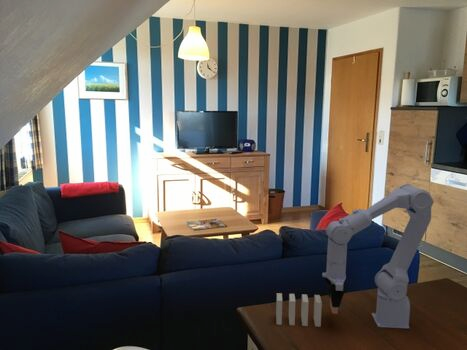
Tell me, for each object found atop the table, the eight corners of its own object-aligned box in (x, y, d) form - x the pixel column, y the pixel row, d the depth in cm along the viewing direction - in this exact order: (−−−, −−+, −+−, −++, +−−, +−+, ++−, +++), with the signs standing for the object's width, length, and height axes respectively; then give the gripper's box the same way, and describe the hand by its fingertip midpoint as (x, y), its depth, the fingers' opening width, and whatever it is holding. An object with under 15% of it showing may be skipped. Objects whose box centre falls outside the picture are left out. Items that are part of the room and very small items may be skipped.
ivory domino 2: (293, 317, 130) (294, 293, 128) (294, 325, 125) (295, 301, 123) (288, 316, 130) (289, 293, 128) (289, 325, 125) (290, 301, 123)
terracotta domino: (332, 313, 123) (333, 288, 122) (329, 305, 128) (331, 281, 127) (337, 313, 123) (339, 289, 121) (334, 305, 128) (336, 282, 126)
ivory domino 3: (306, 317, 129) (307, 294, 128) (307, 326, 124) (308, 302, 123) (301, 317, 129) (302, 294, 128) (302, 325, 124) (303, 301, 123)
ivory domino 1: (281, 316, 130) (281, 293, 129) (281, 324, 125) (282, 300, 124) (276, 316, 130) (276, 293, 129) (276, 324, 125) (277, 300, 124)
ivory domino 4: (318, 318, 129) (319, 295, 128) (320, 326, 124) (321, 302, 123) (313, 318, 129) (314, 294, 128) (315, 326, 124) (316, 302, 123)
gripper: (320, 251, 130) (318, 291, 132) (326, 269, 116) (324, 313, 118) (342, 252, 130) (340, 292, 132) (351, 270, 115) (348, 314, 118)
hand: (334, 302), depth 125 cm, fingers closed on terracotta domino, 5 cm apart
